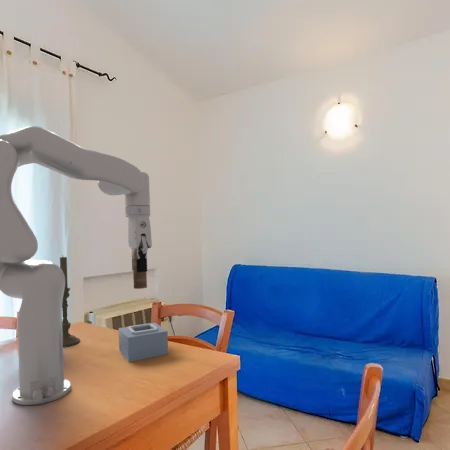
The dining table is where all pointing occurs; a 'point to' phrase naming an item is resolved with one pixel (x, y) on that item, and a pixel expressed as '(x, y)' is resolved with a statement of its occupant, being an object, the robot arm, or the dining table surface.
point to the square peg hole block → (143, 341)
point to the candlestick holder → (67, 338)
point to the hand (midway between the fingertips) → (139, 270)
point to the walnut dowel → (138, 274)
